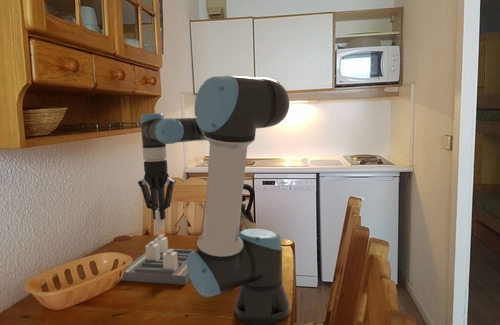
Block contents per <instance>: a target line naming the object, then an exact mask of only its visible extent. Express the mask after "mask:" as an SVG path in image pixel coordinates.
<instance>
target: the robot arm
mask: <svg viewBox="0 0 500 325" xmlns="http://www.w3.org/2000/svg"><path fill="white" fill-rule="evenodd" d="M289 109H290V98H289V93H288V92H287V90H286V89H285V87H284V86H283V85H282V84H281V83H280V82H279V81H276V80H275V79H272V78H269V77H261V76H259V77H253V76H252V77H251V76H237V75H236V76H235V75H219V76H217V75H216V76H212V77H209V78H207V79H206V80H205V81H203V83H202V84H201V86H200V88H199V89H198V91H197V93H196V97H195V101H194V117H183V118H182V117H181V118H179V117H178V118H175V117H174V118H168V117H166V118H165V115H164V114H163V113H159V112H155V113H153V112H151V113H142V114H141V115H140V124H139V125H140V129H141V132H140V133H141V143H142V156H143V160H144V162H143V169H144V170H143V171H144V175H143V178H142V179H141V180H138V181H137V184H138V185H139V187H140V189H141V192H142V196H143V199H144V203H145V206H146V208H147V210H148V209H151V210H152V218H153V220H155V228H156V231H157V230H158V231H161V230H163V229H164V228H165V225H164V220H165V219H166V210H167V209H168V208H170V207H171V204H172V203H171V202H172V197H173V190H174V187H175V184H176V183H177V180H176V179H173V178H171V177H170V175H169V174H168V161H167V157H168V156H167V145H171V144H176V143H187V142H196V141H197V142H198V141H199V142H200V141H208V143H209V151H208V153H209V154H208V166H207V181H206V183H207V184H206V193H205V194H206V196H205V209H204V210H205V211H204V212H205V213H204V226H203V233H202V234H201V235H200V236H199V237H198V238H197V241H196V250H194V251H192V252H191V253H189V254H188V256H187V260H186V262H187V269H188V273H189V276H190V282H191V283H192V285H193V287H194V288H195V290H196V291H197V293H198V294H200V295H201V296H203V297H205V298H209V297H213V296H217V295H221V294H223V293H225V292H228V291H231V290H233V289H236V288H238V287H240V288H239V291H238V295H237V297H236V298H237V299H236V301H235V315H236V317H237V318H238V319H240V320H241V321H242V322H244V323H246V324H250V325H274V324H277V323H280V322H282V321H284V320H285V319H286V318H287V317H288V315H290V300H289V299H288V297H287V293H286V289H285V288H284V285H283V248H282V239H281V236H280V235H279V234H278V233H276V232H275V231H273V230H270V229H263V228H258V229H245V230H242V231H241V232H240V233H239V224H240V214H241V204H243V202H242V194H243V191H244V189H243V184H245V183H244V182H245V175H246V174H245V173H246V165H247V164H246V161H247V154H248V153H247V152H248V147H249V146H250V145H251V144H252V143H253V142H255V140H256V130H257V129H262V128H263V129H265V128H270V127H274V126H277V125H279V124H280V123H281V122H282V121H283V120H284V119H285V118H286V116H287V114H288V112H289ZM166 185H167V186H166ZM165 186H166V190H165ZM165 191H166V192H165ZM243 195H244V194H243ZM238 234H239V235H238Z"/></svg>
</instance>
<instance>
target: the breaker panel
mask: <svg viewBox="0 0 500 325" xmlns="http://www.w3.org/2000/svg"><path fill="white" fill-rule="evenodd" d="M169 249H170V248H168V250H169ZM173 249H174V252H177V259H178V269H177V270H176V271H175V272H174V270H168V269H163V254H164V253H160V259H159V260H146V251H145V252H144V253H142V255H140V256H139V257H138V258H136V259H135V260H133V262H131V263H129V266H128V265H127V266H128V267H127V266H126V267H127V269H126V270H125V272H124V275H123V277H122V280H121V281H124V282H125V281H127V282H139V283H140V282H141V283H154V284H168V285H170V284H171V285H185V286H186V285H188V283H189V281H191V279H190V276H189V273H188V269H187V262H186V260H187V256H188V254H189V253H191V252H192V251H195V250H194V249H183V248H173Z"/></svg>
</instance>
